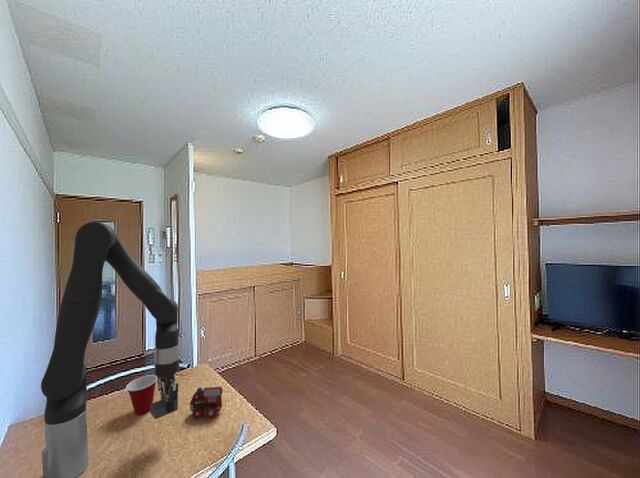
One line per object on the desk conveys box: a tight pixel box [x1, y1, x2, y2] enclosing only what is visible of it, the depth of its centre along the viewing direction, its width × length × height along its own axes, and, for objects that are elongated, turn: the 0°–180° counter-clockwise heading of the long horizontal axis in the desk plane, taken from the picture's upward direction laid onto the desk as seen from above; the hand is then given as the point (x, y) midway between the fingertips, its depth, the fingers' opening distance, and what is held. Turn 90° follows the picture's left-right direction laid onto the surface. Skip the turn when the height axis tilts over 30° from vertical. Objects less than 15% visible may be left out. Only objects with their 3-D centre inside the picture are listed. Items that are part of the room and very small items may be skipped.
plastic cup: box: [125, 374, 158, 416], centre depth 114 cm, size 11×11×12 cm
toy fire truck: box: [189, 386, 223, 420], centre depth 111 cm, size 7×12×10 cm, turn 90°
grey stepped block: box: [149, 390, 179, 420], centre depth 97 cm, size 7×5×6 cm
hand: (167, 407), depth 97 cm, fingers closed on grey stepped block, 5 cm apart
